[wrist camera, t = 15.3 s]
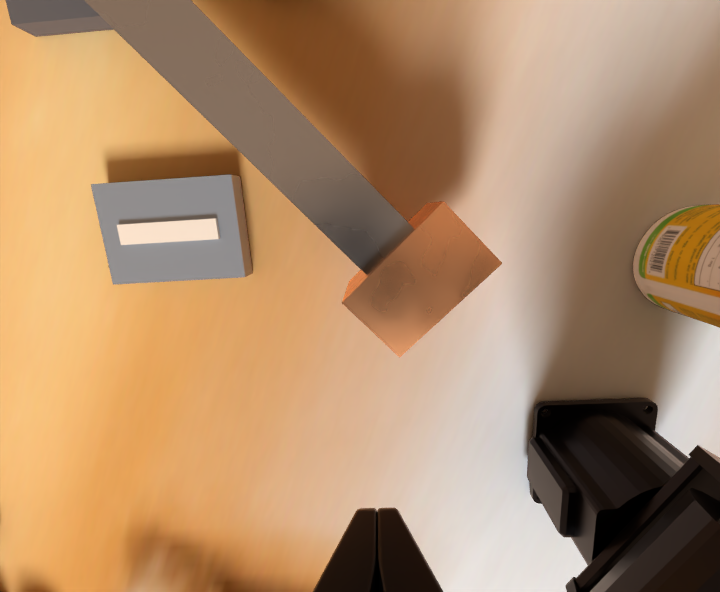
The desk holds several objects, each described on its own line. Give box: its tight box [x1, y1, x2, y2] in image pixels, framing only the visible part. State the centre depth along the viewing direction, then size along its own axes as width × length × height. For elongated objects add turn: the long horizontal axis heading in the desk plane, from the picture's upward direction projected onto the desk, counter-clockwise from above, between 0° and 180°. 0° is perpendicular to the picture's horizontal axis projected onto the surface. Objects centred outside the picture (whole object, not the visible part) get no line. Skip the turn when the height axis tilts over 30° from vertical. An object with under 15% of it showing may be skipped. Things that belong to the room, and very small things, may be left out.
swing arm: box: [84, 0, 502, 357], centre depth 14 cm, size 24×5×5 cm, turn 46°
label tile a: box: [91, 175, 253, 284], centre depth 19 cm, size 7×5×1 cm
